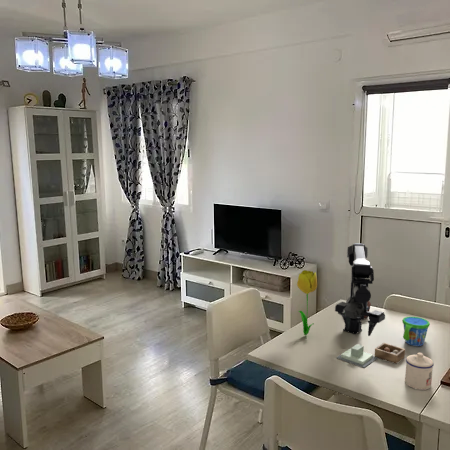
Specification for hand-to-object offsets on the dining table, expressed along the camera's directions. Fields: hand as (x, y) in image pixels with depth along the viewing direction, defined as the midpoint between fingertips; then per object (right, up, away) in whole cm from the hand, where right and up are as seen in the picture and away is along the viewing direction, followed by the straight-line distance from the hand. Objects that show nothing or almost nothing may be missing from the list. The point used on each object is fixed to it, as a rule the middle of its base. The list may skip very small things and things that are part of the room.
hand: (358, 332), depth 182 cm
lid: (0, -10, +2) cm, 11 cm away
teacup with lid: (+17, -14, -16) cm, 27 cm away
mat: (0, -11, +2) cm, 11 cm away
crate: (+13, -11, +3) cm, 17 cm away
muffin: (+14, -3, +48) cm, 50 cm away
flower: (-17, -7, +23) cm, 30 cm away
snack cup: (+29, -9, +16) cm, 34 cm away
